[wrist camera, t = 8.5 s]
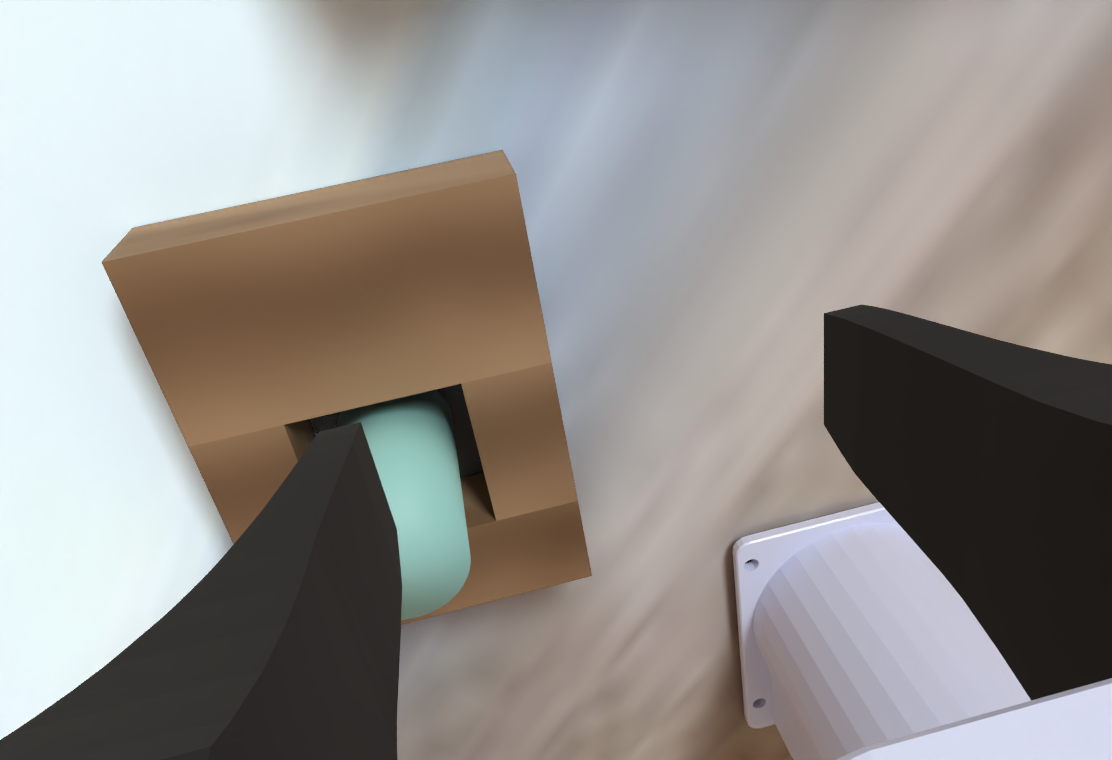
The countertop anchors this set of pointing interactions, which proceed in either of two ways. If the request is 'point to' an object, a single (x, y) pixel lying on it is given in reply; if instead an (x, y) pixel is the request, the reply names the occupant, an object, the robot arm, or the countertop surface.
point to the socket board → (365, 346)
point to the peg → (420, 494)
